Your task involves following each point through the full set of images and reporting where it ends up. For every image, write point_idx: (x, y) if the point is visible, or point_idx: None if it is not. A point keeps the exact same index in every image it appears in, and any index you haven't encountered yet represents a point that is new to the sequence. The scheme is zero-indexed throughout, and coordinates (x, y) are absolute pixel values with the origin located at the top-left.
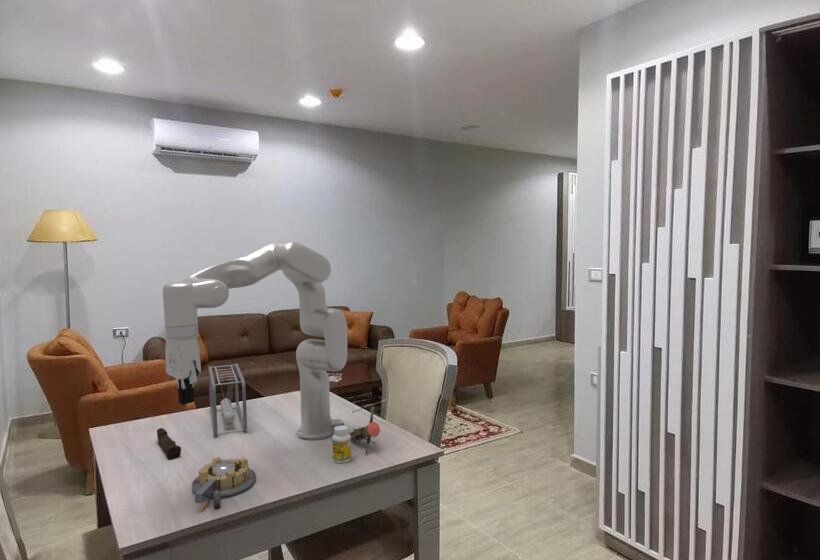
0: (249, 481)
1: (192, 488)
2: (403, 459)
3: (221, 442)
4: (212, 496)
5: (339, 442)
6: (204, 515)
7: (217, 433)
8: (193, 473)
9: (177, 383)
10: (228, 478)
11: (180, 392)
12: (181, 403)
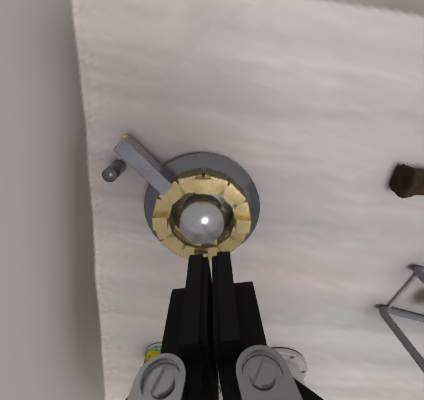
0: None
1: (211, 155)
2: (108, 391)
3: (377, 264)
4: None
5: None
6: (105, 138)
7: (414, 273)
8: (290, 181)
9: (277, 394)
10: (153, 212)
11: (189, 318)
12: (191, 257)
